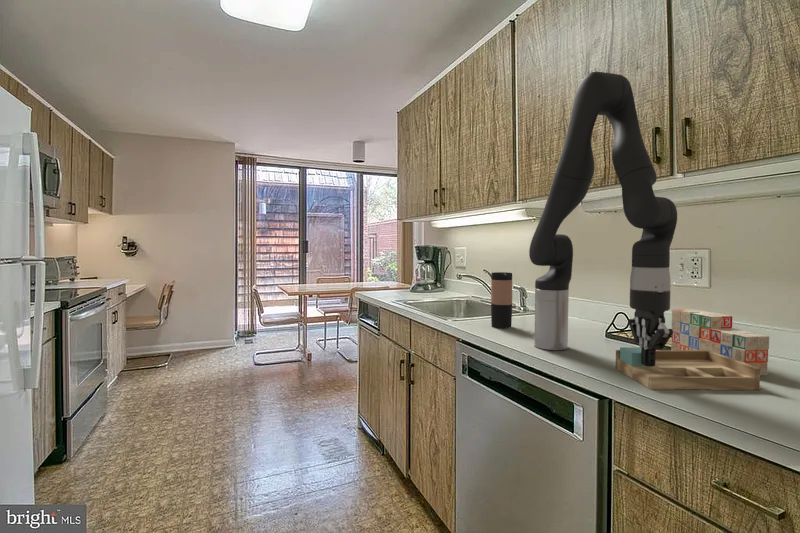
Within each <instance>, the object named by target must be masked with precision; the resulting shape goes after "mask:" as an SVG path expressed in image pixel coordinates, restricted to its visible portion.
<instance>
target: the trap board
mask: <svg viewBox="0 0 800 533" xmlns="http://www.w3.org/2000/svg"><path fill="white" fill-rule="evenodd" d="M615 370H618V371H619V372H621V373H623V374H624V375H626V376H628V378H631V379H633V380H634V381H636V382H638V383H639V384H641V385H643V386H644V387H646V388H648V389H649V390H675V389H711V390H714V391H715V390H716V391H726V390H727V391H760V386H761V385H760V384H761V383H760V382H761V380H760V379H761V375H760V368H757V367H755V366H752V365H749V364H746V363H743V362H740V361H737V360H735V359H732V358H729V357H726V356H723V355H720V354H718V353H715V352H712V351H709V350H671V349H669V350H667V349H657V350H656V354H655V366H630V365H629V364H627V363H625V362H623V361H621V360H620V349H616V350H615ZM711 390H710V391H711Z"/></svg>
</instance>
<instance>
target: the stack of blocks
mask: <svg viewBox="0 0 800 533" xmlns="http://www.w3.org/2000/svg"><path fill="white" fill-rule="evenodd" d="M671 329H672V330H673V334H672V336H671V342H670V343H671V346H670V347H671V349H670V350H709V351H712V352H715V353H718V354H720V355H723V356H726V357H729V358H732V359H735V360H737V361H740V362H743V363H746V364H749V365H752V366H755V367H757V368H760V376H768V362H769V349H770V336H769V335H766V334H761V333H756V332H752V331H748V330H742V329H739V328H733V316H732V315H728V314H722V313H718V312H712V311H705V310H701V309H700V310H699V309H695V308H683V309H680V308H678V309H677V308H676V309H671Z"/></svg>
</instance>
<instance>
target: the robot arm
mask: <svg viewBox="0 0 800 533" xmlns="http://www.w3.org/2000/svg"><path fill="white" fill-rule="evenodd" d="M634 97H635V96H634V93H633V88H632V85H631V83H630V80H629V79H628V78H627V77H626V76H624V75H622V74H618V73H611V72H606V71H605V72H604V71H592V72H589V73H588V74H587V75H585V76H584V77H583V78H582V80H581V81H580V83H579V85H578V87H577V89H576V92H575V94H574V98H573V104H572V109H571V113H570V118H569V124H568V128H567V133H566V137H565V140H564V142H563V147H562V151H561V154H560V158H559V160H558V163H557V166H556V168H555V171H554V172H555V173H554V175H553V179H552V183H551V187H550V190H549V194H548V196H547V200H546V203H545V205H544V208H543V212H542V214H541V216H540V218H539V222H538V224H537V226H536V228H535V230H534V233H533V235H532V238H531V242H530V246H529V249H528V253H529V260H530V262H531V263H532V264H533V265H535V266H541V267H549V269H548V271H547V272H546V273H545V274H544V275H541V276H540V277H538V278H536V279H535V282H534V347H536V348H537V349H542V350H549V351H563V350H567V349H568V346H569V344H568V343H569V342H568V341H569V302H570V300H569V298H570V297H569V294H570V293H569V292H570V290H569V288H570V283H571V280H572V274H573V273H572V272H573V262H574V260H573V259H574V248H573V246H574V245H573V243H572V240H571V237H569V236H568V235H565V234H558V233H557V232H558V230H559V229H560V226H561V224H562V223H563V221H565V219H566V218H567V217H568V216H569V215H570V214H571V213H572V212H573V211H574V210H575V209H576V208H577V207H578V206H579V205H580V204H581V203H582V201H583V200H584V199H585V197H586V196H587V194H588V191H589V189H590V186H591V183H592V180H593V177H594V174H595V158H594V154H593V148H592V135H593V131H594V129H595V124H596V122H597V118H598V116H605V117H606V118H607V120H608V121H609V124H610V125H611V127H612V130H613V145H612V149H611V150H612V151H611V161H612V164H613V168H614V171H615V174H616V176H617V180H618V182H619V185H620V186H621V196H622V198H621V199H622V207H623V212H624V215H625V218H626V219H627V221H628V222H629V224H630V225H632V226H633V227H635V228H637V229H642V232H641V236H640V239H639V240H637V241H635V242H634V243H633V245H632V248H631V271H630V274H629V275H630V276H629V308H631V309H633V310H635V311H634V312H633V314H634V315H633V316H634V317H633V318H629V319H628V320H627V322H628V323H627V324H628V326H629V329H630V331H631V334H632V336H633V340H634V342H635V343H636V344H638V347H640V348H641V364H643V365H645V366H655V354H656V350H664V348H665V346H666V344H667V343H668V341H669V340H670V339H671V338H672V334H673V330H672V328H668V327H667V326H666V324H665V323H666V317H665V312H667V311H669V310H670V309H671V282H672V281H671V270H670V264H671V262H670V259H671V258H670V257H671V255H670V254H671V251H670V247H671V244H672V241H673V239H674V235H675V231H676V227H677V224H678V223H677V222H678V210H677V207H676V204H675V203H674V202H673V201H672V199H669V198H667V197H664V196H656V195H655V192H654V189H653V186H654V184H656V182H657V178H658V177H657V172H656V170H655V167H654V165H653V163H652V161H651V157H650V155H649V153H648V151H647V148H646V146H645V143H644V140H643V137H642V133H641V132H642V131H641V128H640V122H639V118H638V114H637V108H636V103H635V98H634Z"/></svg>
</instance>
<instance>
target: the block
mask: <svg viewBox="0 0 800 533" xmlns="http://www.w3.org/2000/svg"><path fill="white" fill-rule="evenodd" d="M619 350H620V360H621V361H623V362H625V363H627V364H629V365H630V366H645V365H643V364H641V348H640V346H637V347H634V346H633V347H632V346H631V347H629V346H627V347H622V346H621V347H619Z"/></svg>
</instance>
